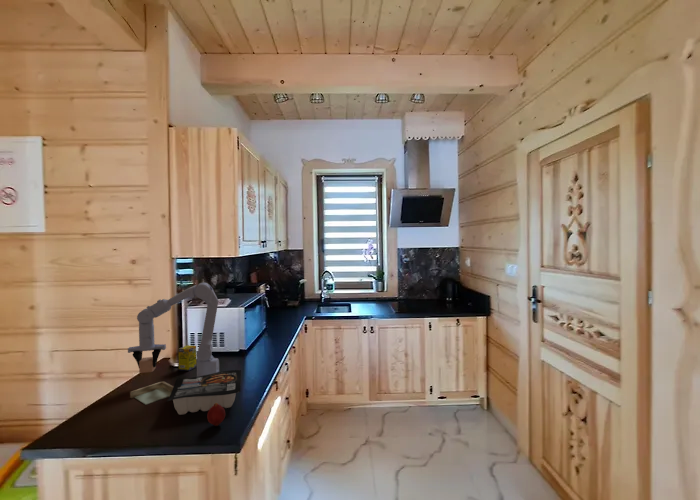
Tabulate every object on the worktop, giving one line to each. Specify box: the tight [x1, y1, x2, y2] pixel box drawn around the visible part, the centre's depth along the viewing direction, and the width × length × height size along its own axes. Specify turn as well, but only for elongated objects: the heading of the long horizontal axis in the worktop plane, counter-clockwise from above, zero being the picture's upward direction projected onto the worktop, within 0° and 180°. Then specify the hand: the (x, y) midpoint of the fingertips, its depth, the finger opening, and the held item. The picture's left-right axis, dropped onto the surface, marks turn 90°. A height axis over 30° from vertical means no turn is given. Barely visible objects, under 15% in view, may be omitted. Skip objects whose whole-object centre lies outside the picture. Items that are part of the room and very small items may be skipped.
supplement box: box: [177, 344, 197, 372], centre depth 170 cm, size 6×6×11 cm
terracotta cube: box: [138, 356, 157, 374], centre depth 150 cm, size 5×5×5 cm
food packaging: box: [166, 369, 242, 416], centre depth 136 cm, size 25×8×23 cm
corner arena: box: [129, 380, 174, 406], centre depth 141 cm, size 13×13×2 cm
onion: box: [206, 403, 226, 427], centre depth 117 cm, size 6×6×8 cm
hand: (147, 367), depth 151 cm, fingers closed on terracotta cube, 5 cm apart
